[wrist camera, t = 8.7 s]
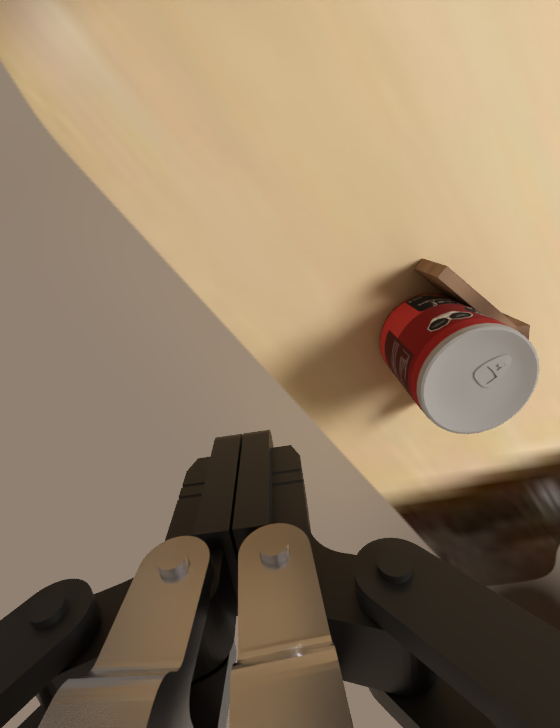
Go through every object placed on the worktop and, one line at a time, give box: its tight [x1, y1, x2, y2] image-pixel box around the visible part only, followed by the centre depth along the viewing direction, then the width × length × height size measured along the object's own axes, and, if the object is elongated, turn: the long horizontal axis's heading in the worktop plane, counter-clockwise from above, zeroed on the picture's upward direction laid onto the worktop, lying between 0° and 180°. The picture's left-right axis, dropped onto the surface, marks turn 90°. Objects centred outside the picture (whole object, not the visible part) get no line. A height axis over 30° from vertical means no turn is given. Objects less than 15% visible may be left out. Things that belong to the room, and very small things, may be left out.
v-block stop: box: [415, 259, 530, 340], centre depth 34 cm, size 13×7×5 cm, turn 9°
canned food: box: [380, 294, 539, 434], centre depth 31 cm, size 8×8×11 cm
